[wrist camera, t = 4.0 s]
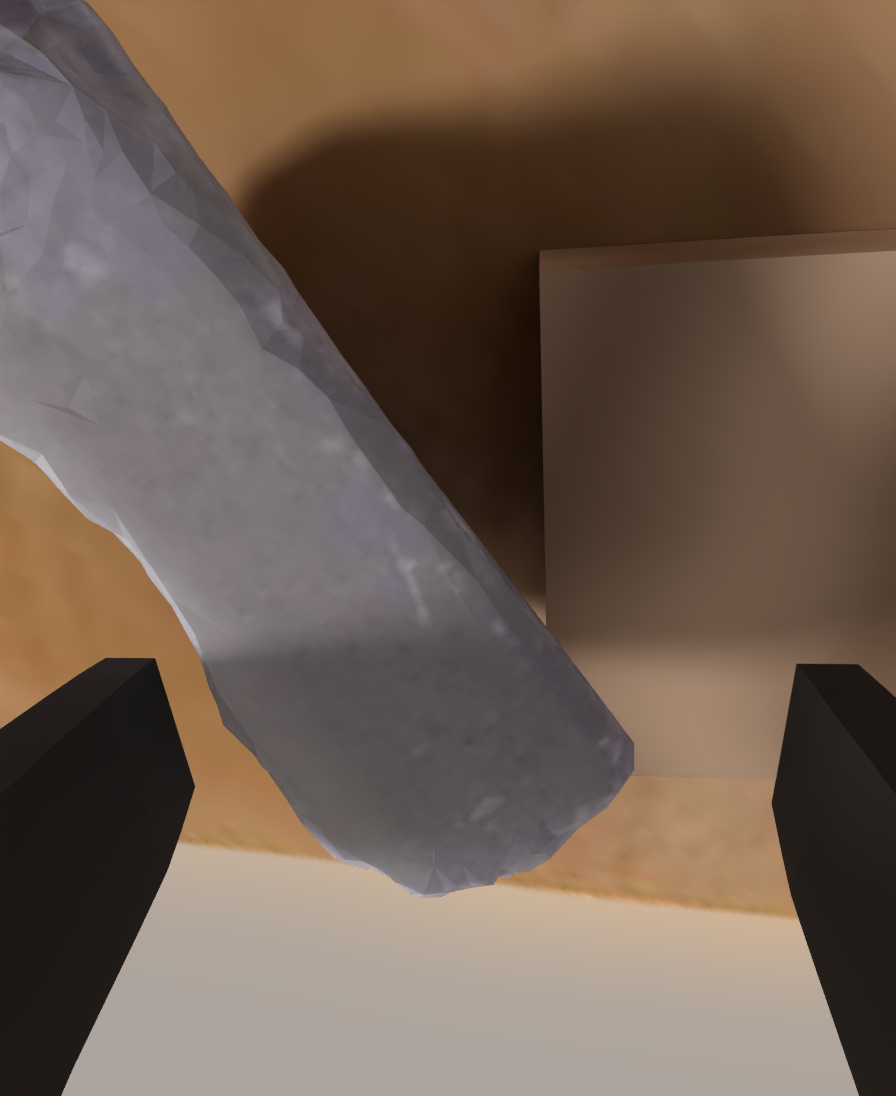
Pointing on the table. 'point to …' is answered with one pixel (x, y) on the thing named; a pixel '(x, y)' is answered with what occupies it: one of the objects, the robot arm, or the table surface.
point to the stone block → (270, 491)
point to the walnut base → (719, 481)
